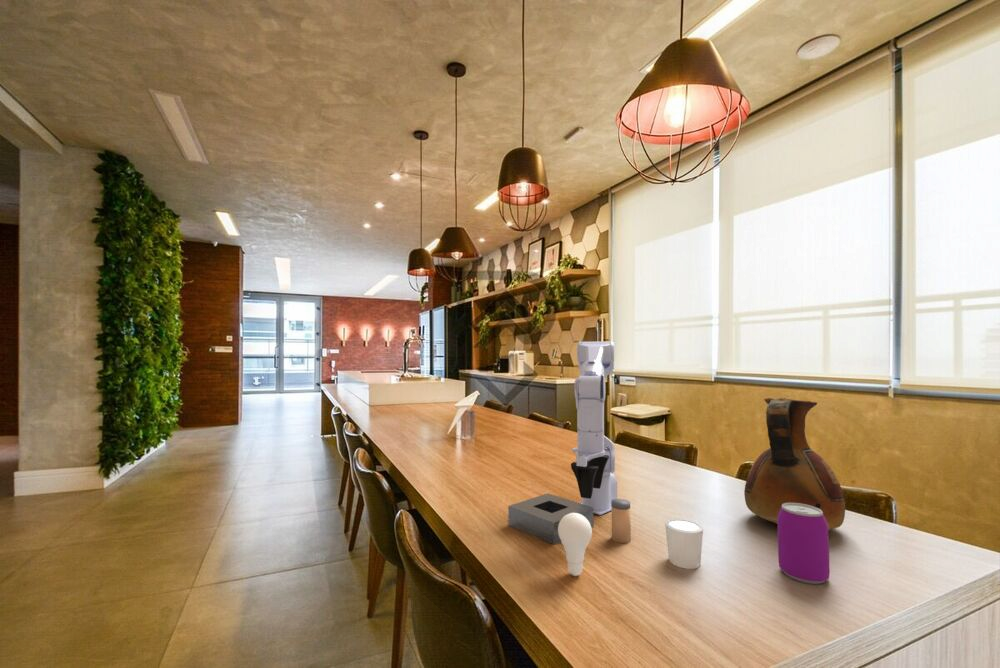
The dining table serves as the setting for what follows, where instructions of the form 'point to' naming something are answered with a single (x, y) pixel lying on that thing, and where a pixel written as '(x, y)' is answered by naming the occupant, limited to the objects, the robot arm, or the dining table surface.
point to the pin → (621, 520)
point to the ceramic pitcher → (792, 468)
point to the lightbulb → (575, 540)
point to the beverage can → (803, 543)
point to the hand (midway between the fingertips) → (590, 492)
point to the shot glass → (684, 543)
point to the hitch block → (545, 515)
